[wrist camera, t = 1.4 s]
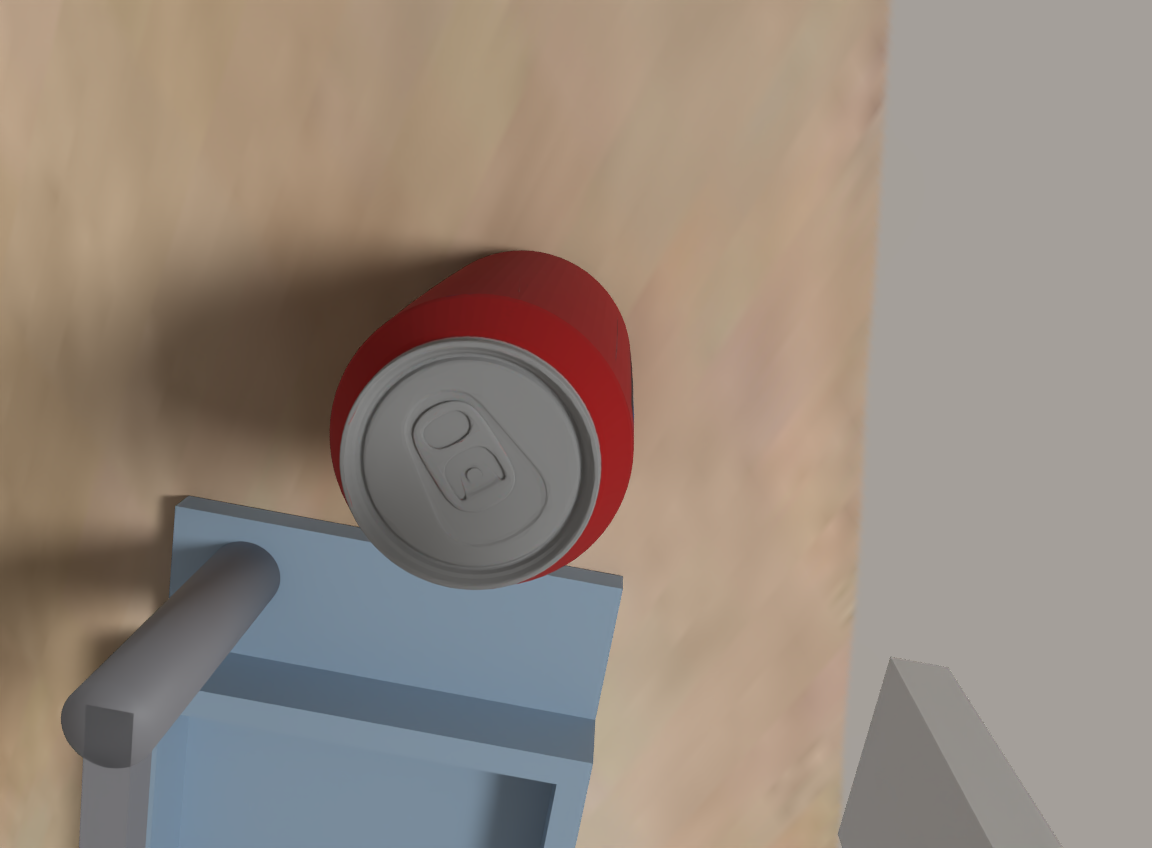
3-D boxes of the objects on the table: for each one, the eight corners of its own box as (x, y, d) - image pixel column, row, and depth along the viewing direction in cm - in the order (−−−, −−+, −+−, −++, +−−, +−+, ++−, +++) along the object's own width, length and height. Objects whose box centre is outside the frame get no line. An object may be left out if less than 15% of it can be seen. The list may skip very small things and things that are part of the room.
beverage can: (489, 488, 33) (416, 672, 21) (382, 312, 31) (239, 406, 20) (668, 393, 32) (695, 533, 20) (565, 206, 30) (529, 240, 19)
